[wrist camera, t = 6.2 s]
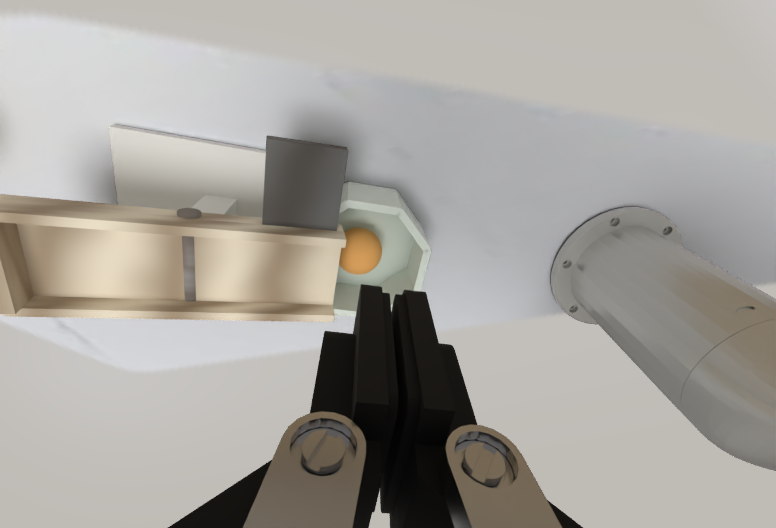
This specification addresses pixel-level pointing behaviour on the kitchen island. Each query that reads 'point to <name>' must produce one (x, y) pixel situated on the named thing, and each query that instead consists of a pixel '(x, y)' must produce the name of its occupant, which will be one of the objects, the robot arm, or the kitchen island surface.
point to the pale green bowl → (397, 237)
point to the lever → (183, 251)
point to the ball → (360, 251)
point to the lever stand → (186, 173)
